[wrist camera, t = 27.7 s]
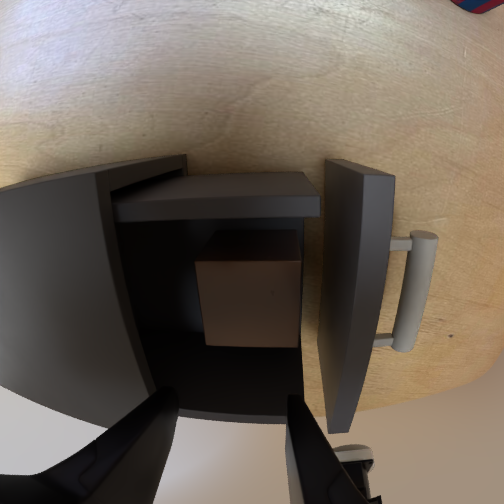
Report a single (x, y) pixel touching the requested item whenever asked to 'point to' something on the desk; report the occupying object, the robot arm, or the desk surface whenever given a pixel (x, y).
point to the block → (250, 288)
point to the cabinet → (72, 293)
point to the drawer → (332, 292)
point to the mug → (478, 5)
